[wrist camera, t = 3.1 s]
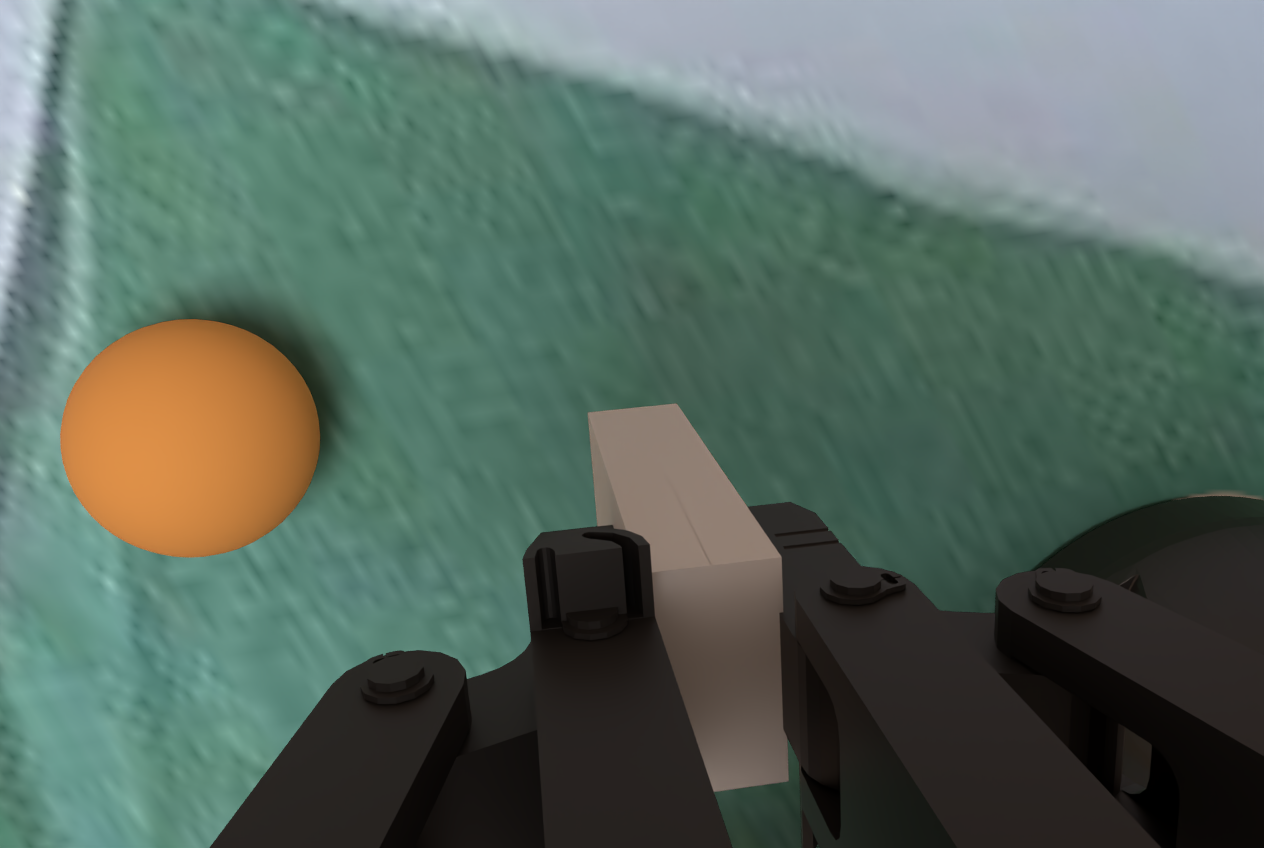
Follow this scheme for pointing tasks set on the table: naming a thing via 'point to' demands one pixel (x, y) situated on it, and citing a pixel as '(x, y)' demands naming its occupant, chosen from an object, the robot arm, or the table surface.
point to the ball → (190, 438)
